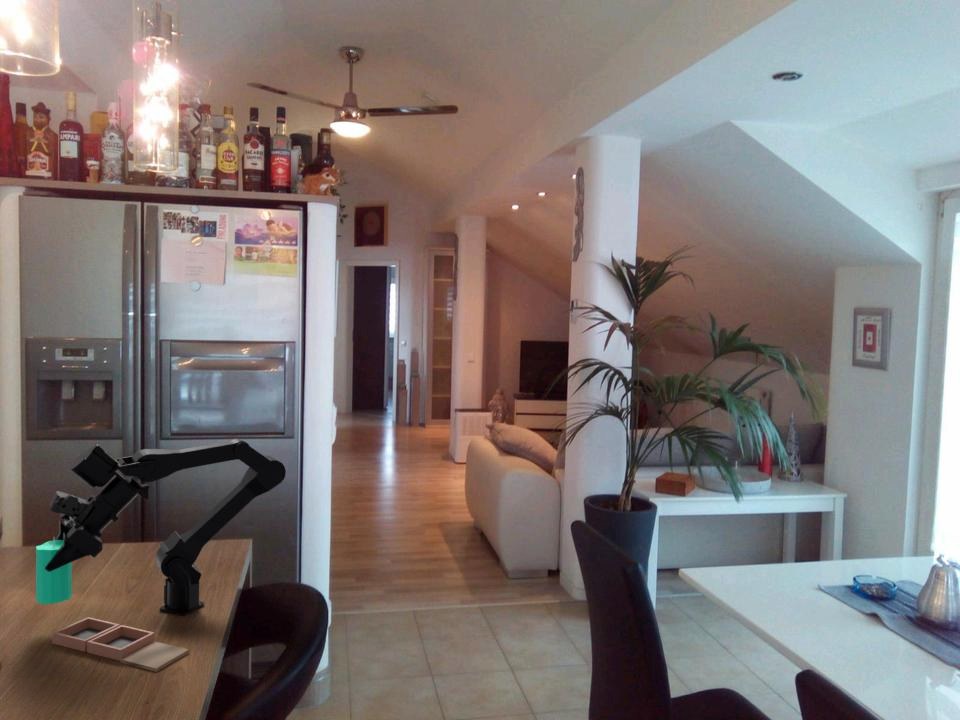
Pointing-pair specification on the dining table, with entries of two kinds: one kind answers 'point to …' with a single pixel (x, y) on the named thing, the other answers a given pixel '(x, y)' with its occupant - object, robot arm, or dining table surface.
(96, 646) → the tray
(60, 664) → the dining table surface
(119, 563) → the dining table surface
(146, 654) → the pad
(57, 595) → the candle
